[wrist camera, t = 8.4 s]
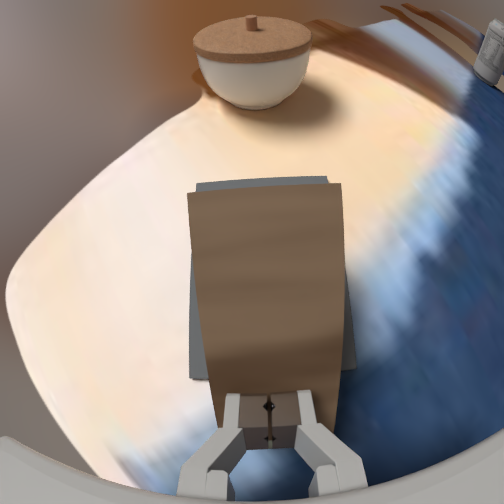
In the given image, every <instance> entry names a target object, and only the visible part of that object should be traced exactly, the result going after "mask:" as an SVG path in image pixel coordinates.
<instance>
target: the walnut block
mask: <svg viewBox="0 0 504 504" xmlns="http://www.w3.org/2000/svg"><path fill="white" fill-rule="evenodd" d="M187 199H188V213H189V226H190V238H191V249H192V259H193V269H194V278H195V287H196V295H197V303H198V311H199V319H200V326H201V333H202V340H203V347H204V353H205V360H206V366H207V372H208V378H209V383H210V389H211V395H212V400H213V405H214V411H215V416H216V421H217V426H218V428H223V421H224V411H225V400H226V395H227V393H240V394H241V393H267V414H268V449H271V448H272V426H271V398H270V393H271V392H285V391H300V390H310V391H311V393H312V399H313V404H314V409H315V415H316V420H317V423H321V424H323V425H324V426H325V427H326V428H327V429H328V430H329V431H330V432H332V433H334V426H335V419H336V411H337V403H338V394H339V384H340V374H341V361H342V347H343V329H344V298H345V255H344V223H343V205H342V190H341V183H330V184H299V185H278V186H262V187H247V188H234V189H222V190H212V191H201V192H192V193H187Z"/></svg>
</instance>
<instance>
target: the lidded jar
mask: <svg viewBox="0 0 504 504" xmlns="http://www.w3.org/2000/svg"><path fill="white" fill-rule="evenodd" d="M193 44H194V49H195V52H196V53H197V57H198V62H199V65H200V69H201V71H202V74H203V76H204V78H205V80H206V82H207V83H208V85H209V86H210V87H211V89H212V90H213V91H214V92H215V93H216V94H217V95H219V96H220V97H222V98H223V99H225V100H227V101H229V102H230V103H231V104H232V105H234V106H236V107H238V108H242V109H246V110H262V109H268V108H271V107H274V106H276V105H278V104H280V103H281V102H282V101H283V100H284V99H285V98H287V97H288V96H290V95H291V94H292V93H293V92H294V91H295V90H296V89H297V88H298V87H299V85H300V84H301V82H302V80H303V79H304V76H305V73H306V70H307V66H308V62H309V56H310V47H311V44H312V33H311V32H310V31H309V29H307V28H306V27H305V26H303V25H301V24H298V23H296V22H293V21H290V20H286V19H281V18H274V17H257V16H256V15H247V16H245V17H243V18H235V19H230V20H226V21H222V22H219V23H216V24H213V25H211V26H208V27H206V28H204V29H203V30H201V31H200V32H199V33H197V34H196V36H195V38H194V40H193Z"/></svg>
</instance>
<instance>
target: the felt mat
mask: <svg viewBox="0 0 504 504" xmlns="http://www.w3.org/2000/svg"><path fill="white" fill-rule="evenodd" d="M299 184H328V180H327V176H301V177H275V178H257V179H241V180H228V181H216V182H205V183H197V184H196V192H201V191H212V190H222V189H234V188H247V187H262V186H278V185H299ZM351 369H357V368H356V355H355V343H354V333H353V324H352V315H351V307H350V299H349V292H348V285H347V278H346V272H345V298H344V329H343V347H342V361H341V371H344V370H351ZM189 378H194V379H209V378H208V372H207V366H206V360H205V353H204V347H203V340H202V333H201V326H200V319H199V311H198V303H197V295H196V287H195V278H194V269H193V259H192V254H191V276H190V309H189Z"/></svg>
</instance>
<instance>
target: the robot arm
mask: <svg viewBox="0 0 504 504" xmlns="http://www.w3.org/2000/svg"><path fill="white" fill-rule="evenodd" d="M270 398H271V426H272V449H279V448H294V449H295V450H296V451H297V452H298V453H299V455H300V456H301V457H302V458H303V459H304V460H305V462H306V463H307V464H308V465H309V466H310V467H311V468H312V470H313V471H314V472H315V474H314V476H313V479H312V481H311V484H310V486H309V488H308V491H309V498H304V499H294V500H282V501H257V502H242V501H235V491H234V488H233V486H232V483H231V481H230V478H229V476H228V475H229V474H230V473H231V471H232V470H233V469H234V467H235V466H236V465H237V463H238V462H239V461H240V459H241V458H242V457H243V455H244V454H245V453H246V450H258V449H268V414H267V393H241V394H240V393H227V395H226V400H225V411H224V421H223V428H218V429H217V431H216V432H215V433H214V434H213V435H212V436H211V437H210V438H209V439H208V440H207V441H206V442H205V443H204V444H203V445H202V446H201V447H200V448H199V449H198V450H197V451H196V452H195V453H194V454H193V455H192V456H191V457H190V458H189V459H188V460H187V461H186V462H185V463H184V464H183V465H182V466H181V471H180V477H179V483H178V488H177V494H176V496H173V495H167V494H161V493H156V492H151V491H146V490H142V489H138V488H134V487H130V486H126V485H122V484H118V483H115V482H112V481H108V480H105V479H102V478H99V477H96V476H93V475H90V474H87V473H85V472H82V471H79V470H77V469H74V468H72V467H69V466H67V465H64V464H62V463H60V462H57V461H55V460H53V459H51V458H49V457H47V456H45V455H42V454H40V453H38V452H37V451H35V450H32V449H31V448H29V447H27V446H25V445H23V444H22V443H20V442H18V441H16V440H15V439H13V438H11V437H9V436H3V437H0V504H504V428H503V429H501V430H499V431H498V432H496V433H495V434H493V435H491V436H490V437H488V438H486V439H485V440H483V441H481V442H479V443H478V444H476V445H474V446H472V447H470V448H468V449H467V450H465V451H463V452H461V453H459V454H457V455H455V456H452V457H450V458H448V459H446V460H444V461H442V462H439V463H437V464H435V465H432V466H430V467H427V468H425V469H422V470H420V471H417V472H414V473H412V474H409V475H406V476H403V477H400V478H397V479H394V480H391V481H387V482H384V483H381V484H377V485H373V486H369V487H368V484H367V480H366V475H365V471H364V467H363V463H362V459H361V457H359V456H358V455H357V454H356V453H355V452H353V451H352V450H351V449H350V448H349V447H348V446H346V445H345V444H344V443H343V442H342V441H341V440H339V439H338V438H337V437H336V436H335V435H334V434H333V433H332V432H330V431H329V430H328V429H327V428H326V427H325V426H324V425H323V424H321V423H317V420H316V415H315V409H314V404H313V399H312V393H311V391H310V390H300V391H285V392H271V393H270Z"/></svg>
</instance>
